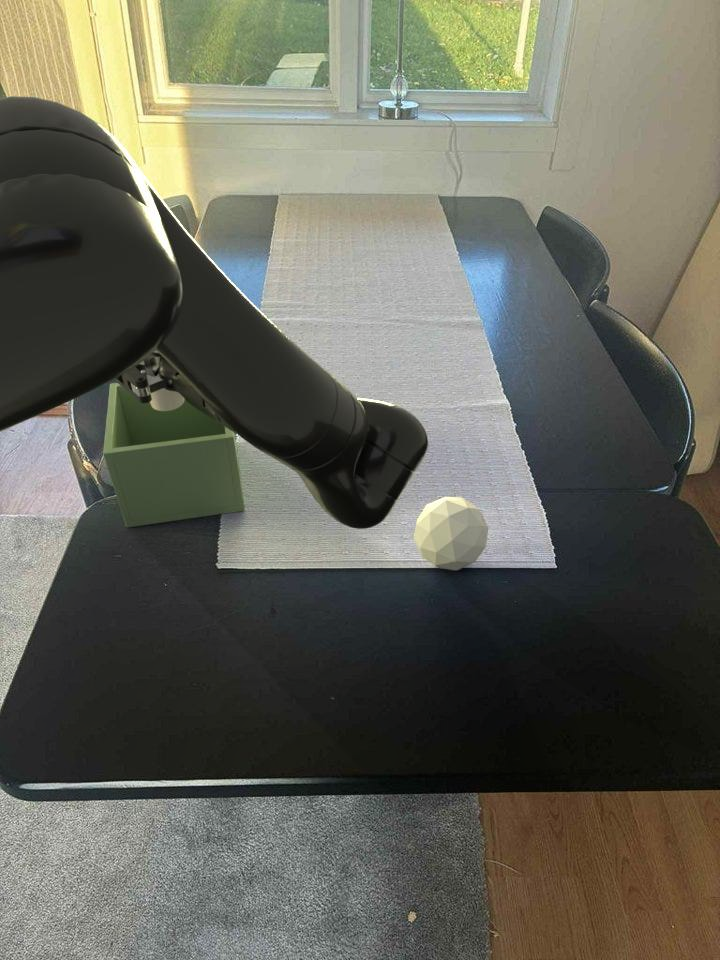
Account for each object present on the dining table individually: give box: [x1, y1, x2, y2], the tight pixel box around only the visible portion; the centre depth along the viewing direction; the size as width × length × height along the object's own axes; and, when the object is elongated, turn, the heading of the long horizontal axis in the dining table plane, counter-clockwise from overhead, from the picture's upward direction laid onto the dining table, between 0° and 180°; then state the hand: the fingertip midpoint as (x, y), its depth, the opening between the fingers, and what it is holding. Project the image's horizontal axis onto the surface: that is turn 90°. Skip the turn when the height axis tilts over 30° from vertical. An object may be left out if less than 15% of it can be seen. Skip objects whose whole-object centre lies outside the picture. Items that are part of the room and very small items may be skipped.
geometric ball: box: [413, 496, 489, 572], centre depth 75 cm, size 8×8×8 cm
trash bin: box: [102, 382, 246, 529], centre depth 83 cm, size 14×14×11 cm
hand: (140, 331), depth 75 cm, fingers closed on smoothie, 6 cm apart
